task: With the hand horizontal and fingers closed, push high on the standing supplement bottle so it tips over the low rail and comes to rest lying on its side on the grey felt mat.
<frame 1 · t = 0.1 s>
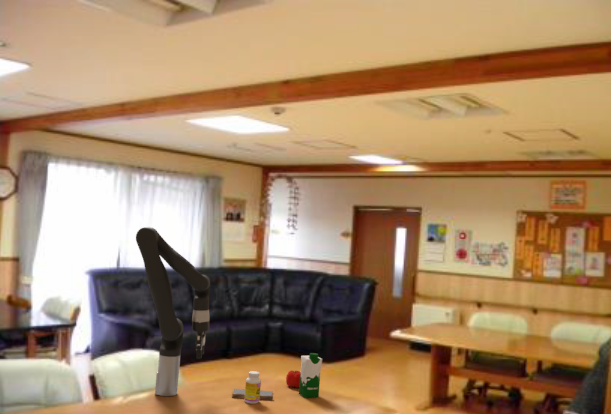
hand: (200, 356, 269), 17 cm above the table, tool pointing down, fingers open, 8 cm apart
milk carton: (308, 396, 283), on the table
supplement bottle: (251, 402, 266), on the table
rail: (252, 398, 271), on the table
tomato: (294, 387, 296), on the table
mat: (252, 394, 278), on the table
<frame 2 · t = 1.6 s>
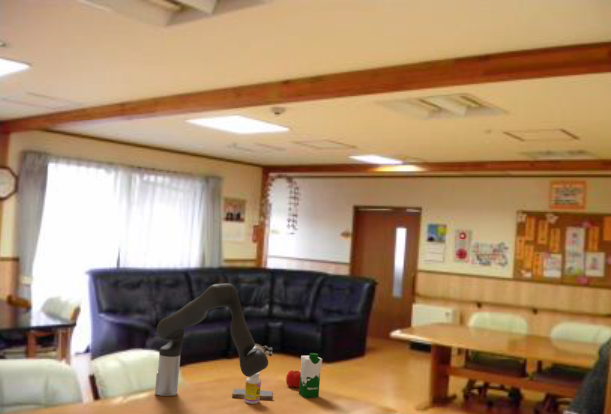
hand: (256, 347, 259), 25 cm above the table, tool horizontal, fingers open, 7 cm apart
nothing on the table moved.
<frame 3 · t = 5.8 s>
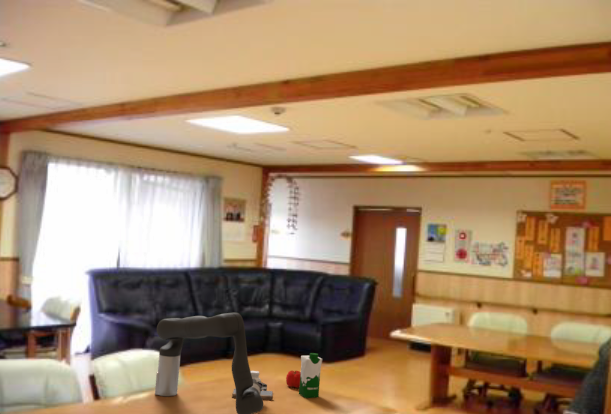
hand: (253, 381, 263), 10 cm above the table, tool horizontal, fingers closed
supplement bottle: (251, 401, 266), on the table, touching gripper
everything else where it was.
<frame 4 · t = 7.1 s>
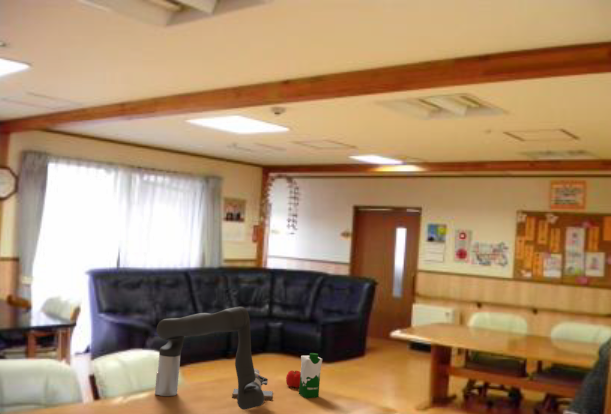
hand: (254, 375, 271), 10 cm above the table, tool horizontal, fingers closed
supplement bottle: (252, 394, 267), point 3 cm above the table, touching gripper, rail
everything else where it was.
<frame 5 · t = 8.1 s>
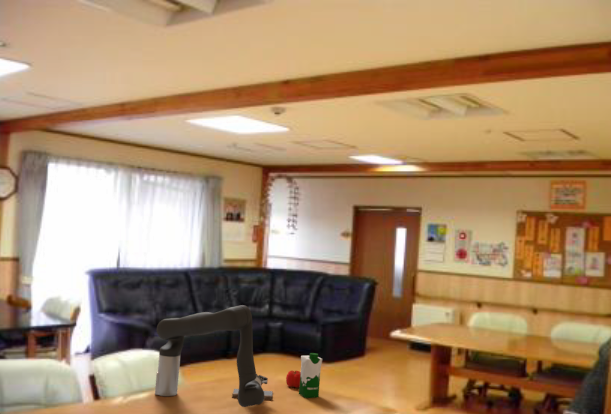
hand: (254, 374, 274), 10 cm above the table, tool horizontal, fingers closed
supplement bottle: (253, 387, 269), point 6 cm above the table, touching gripper, mat, rail
everything else where it was.
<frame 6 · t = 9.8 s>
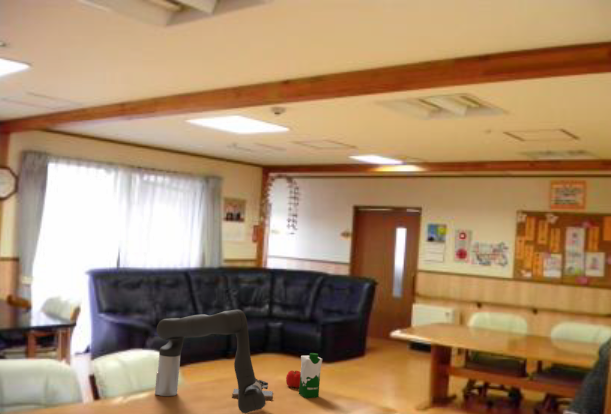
hand: (253, 379, 266), 10 cm above the table, tool horizontal, fingers closed
supplement bottle: (252, 387, 269), point 6 cm above the table, touching rail
everything else where it was.
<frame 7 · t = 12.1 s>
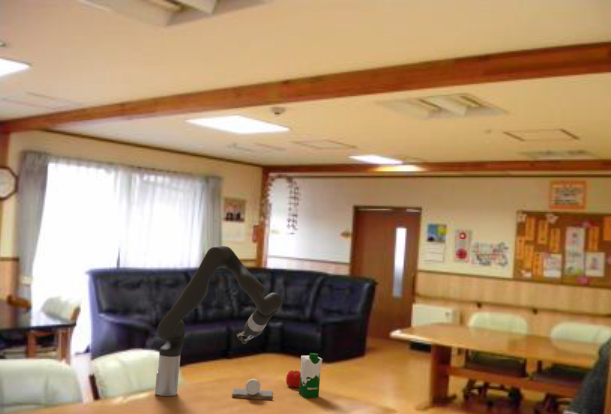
hand: (243, 341, 266), 26 cm above the table, tool tilted 50°, fingers closed
supplement bottle: (252, 387, 269), point 6 cm above the table, touching mat, rail
everything else where it was.
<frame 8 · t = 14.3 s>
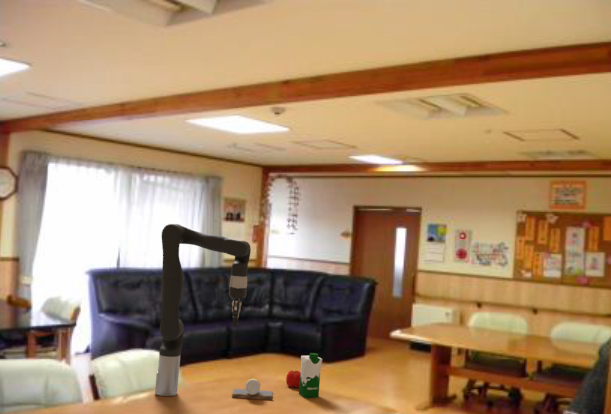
hand: (234, 325, 264), 33 cm above the table, tool pointing down, fingers closed
nothing on the table moved.
at the end: supplement bottle tilted 101°; supplement bottle inside the target area (7.1 cm from its centre), point 5.6 cm above the table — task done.
